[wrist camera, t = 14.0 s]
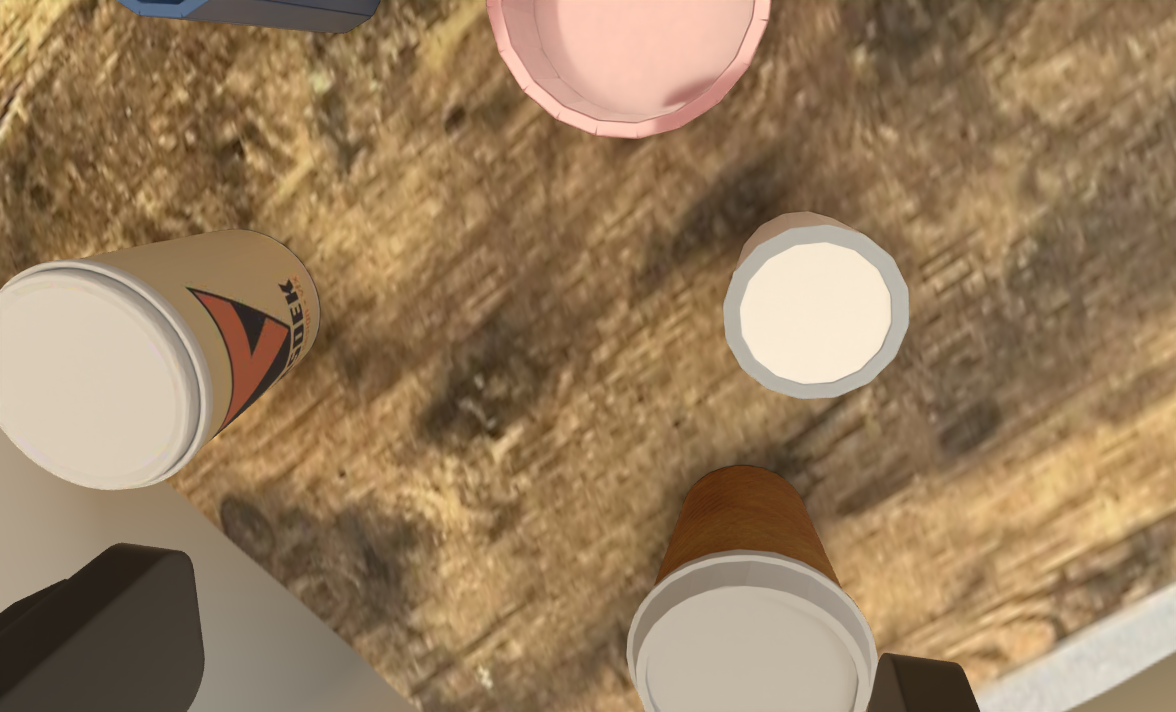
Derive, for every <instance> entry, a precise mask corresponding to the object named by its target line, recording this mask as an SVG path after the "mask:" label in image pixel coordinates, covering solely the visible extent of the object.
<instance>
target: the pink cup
mask: <svg viewBox="0 0 1176 712" xmlns="http://www.w3.org/2000/svg"><path fill="white" fill-rule="evenodd" d="M486 6H487V12H488V16H489V20H490V23H491V27H492V30H493V34H494V38H495V41H496V45H497V48H498V51H499V52H500V53H499V54H500V56H501V57H502V59H503V61H504V62H505V64H506V65H507V67H508V69H509V70H510V72H511V73H512V75H513V77H514V78H515V80H516V81H517V83H518V85H519V86H520V88H521V89H522V90H523V91H524V93H525V94H527V95H528V96H529V97H530V98H531V99H532V100H534V101H535V102H536V103H537V104H538V105H539V106H541V107H542V108H543V109H544V110H545V111H546V112H548V113H549V114H550V115H551V116H552V117H553V118H555V119H557V120H558V121H560V122H563V123H565V124H567V125H570V126H572V127H575V128H577V129H580V130H582V131H584V132H587V133H589V134H592V135H596V136H601V137H616V138H630V139H640V138H644V137H648V136H652V135H655V134H659V133H663V132H667V131H671V130H674V129H678V128H680V127H683V126H684V125H686V124H687V123H689V122H690V121H692V120H693V119H695V118H697V117H698V116H700V115H701V114H703V113H704V112H706V111H708V110H709V109H711V108H712V107H714V106H715V105H717V104H718V103H719V102H720V101H721V100H722V99H723V98H724V96H725V95H726V94H727V93H728V92H729V90H730V89H731V88H732V87H733V86H734V85H735V83H736V82H737V81H738V80H739V79H740V77H741V76H742V75H743V74H744V73H745V71H746V70H747V69H748V68H749V65H750V64H751V62H752V60H753V57H754V55H755V53H756V50H757V48H758V46H759V43H760V41H761V39H762V36H763V34H764V32H765V29H766V27H767V25H768V21H769V17H770V8H771V0H486Z"/></svg>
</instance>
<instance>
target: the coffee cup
mask: <svg viewBox="0 0 1176 712" xmlns="http://www.w3.org/2000/svg"><path fill="white" fill-rule="evenodd" d="M319 321H320V306H319V299H318V296H317V292H316V288H315V286H314V283H313V281H312V279H311V277H310V275H309V273H308V272H307V270H306V269H305V267H304V266H303V264H302V263H301V262H300V260H299V259H298V258H297V257H296V256H295V255H294V254H293V253H292V252H291V251H290V250H289V249H287V248H286V247H285V246H284V245H282V244H280V243H279V242H277V241H276V240H274V239H272V238H270V237H268V236H266V235H263V234H260V233H258V232H254V231H249V230H242V229H230V230H221V231H215V232H208V233H203V234H198V235H192V236H187V237H182V238H177V239H172V240H167V241H162V242H156V243H151V244H146V245H141V246H137V247H132V248H127V249H122V250H117V251H112V252H107V253H102V254H98V255H93V256H89V257H85V258H80V259H62V260H56V261H50V262H45V263H42V264H38V265H35V266H33V267H31V268H29V269H27V270H24V271H22V272H21V273H19V274H18V275H16V276H15V277H13V278H12V279H11V280H10V281H8V282H7V283H6V284H5V285H4V286H3V288H2V289H1V290H0V427H1V428H2V430H3V431H4V432H5V434H6V435H7V436H8V437H9V438H10V439H11V441H12V442H13V443H14V444H15V445H16V446H17V447H18V448H19V449H20V450H21V451H22V452H23V453H24V454H25V455H27V456H28V457H29V458H30V459H31V460H33V461H34V462H35V463H36V464H38V465H39V466H41V467H42V468H44V469H45V470H47V471H49V472H50V473H52V474H54V475H56V476H58V477H60V478H62V479H64V480H67V481H69V482H72V483H75V484H78V485H81V486H85V487H90V488H95V489H103V490H120V489H132V488H141V487H145V486H150V485H153V484H155V483H158V482H161V481H163V480H165V479H167V478H169V477H170V476H172V475H174V474H175V473H177V472H178V471H179V470H181V469H182V468H183V467H184V466H185V465H186V464H187V463H188V462H189V461H190V460H191V459H192V458H193V457H194V456H195V455H196V453H197V452H198V451H199V449H201V448H202V447H203V446H204V445H206V444H207V443H208V442H209V441H210V440H211V439H213V438H214V437H215V436H216V435H217V434H218V433H220V432H221V431H222V430H223V429H224V428H225V427H227V426H228V425H229V424H230V423H231V422H232V421H233V420H235V419H236V418H237V417H238V416H239V415H240V414H241V413H243V412H244V411H245V410H246V409H247V408H248V407H249V406H251V405H252V404H253V403H254V402H255V401H256V400H257V399H258V398H260V397H261V396H262V395H263V394H264V393H265V392H266V391H268V390H269V389H270V388H271V387H272V386H273V385H274V384H276V383H277V382H278V381H279V380H280V379H281V378H282V377H283V376H285V375H286V374H287V373H288V372H289V371H290V370H291V369H292V368H293V367H294V366H295V365H296V364H297V363H298V362H300V361H301V360H302V359H303V357H304V356H305V355H306V354H307V353H308V351H309V350H310V348H311V347H312V345H313V343H314V340H315V338H316V335H317V332H318V328H319Z"/></svg>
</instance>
